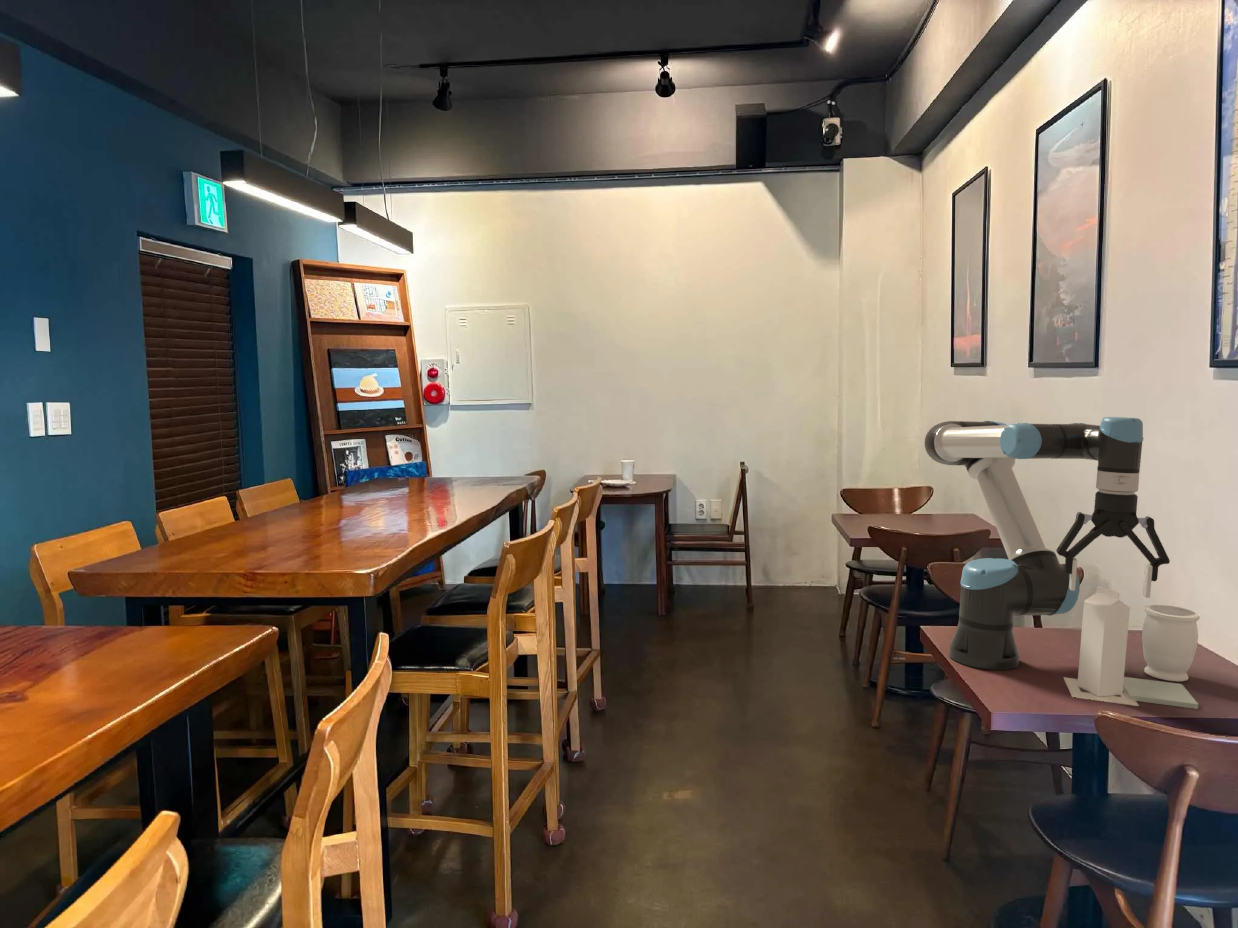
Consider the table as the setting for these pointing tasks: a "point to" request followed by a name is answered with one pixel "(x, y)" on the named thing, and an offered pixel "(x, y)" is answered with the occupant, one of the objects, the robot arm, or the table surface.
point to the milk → (1103, 643)
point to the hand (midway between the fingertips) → (1108, 592)
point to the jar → (1169, 641)
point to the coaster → (1158, 692)
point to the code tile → (1084, 694)
